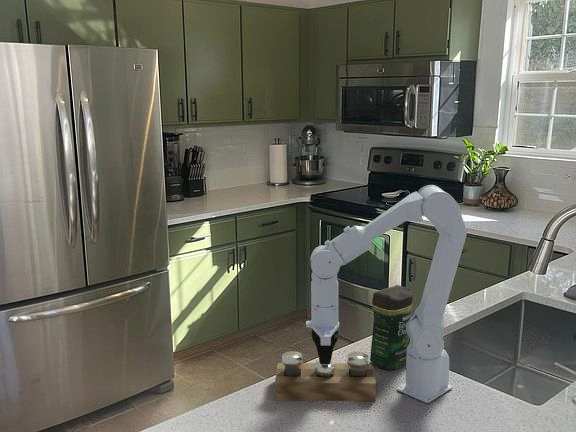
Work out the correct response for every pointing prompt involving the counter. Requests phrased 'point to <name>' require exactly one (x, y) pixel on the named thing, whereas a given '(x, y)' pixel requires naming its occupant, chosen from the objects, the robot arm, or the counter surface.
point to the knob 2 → (357, 363)
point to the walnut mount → (325, 384)
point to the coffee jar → (390, 327)
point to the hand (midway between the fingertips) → (325, 362)
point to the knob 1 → (292, 363)
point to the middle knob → (324, 369)
